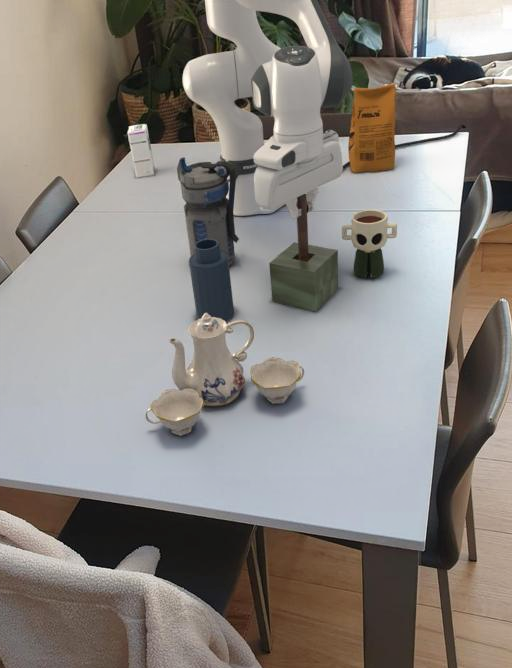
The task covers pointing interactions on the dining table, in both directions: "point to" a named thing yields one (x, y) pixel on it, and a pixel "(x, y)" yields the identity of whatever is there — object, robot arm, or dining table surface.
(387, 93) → the coffee package
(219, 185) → the beverage bottle
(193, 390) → the chinaware
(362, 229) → the character mug
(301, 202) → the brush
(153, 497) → the dining table surface
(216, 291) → the steel bottle
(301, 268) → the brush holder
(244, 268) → the dining table surface
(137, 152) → the syrup box
